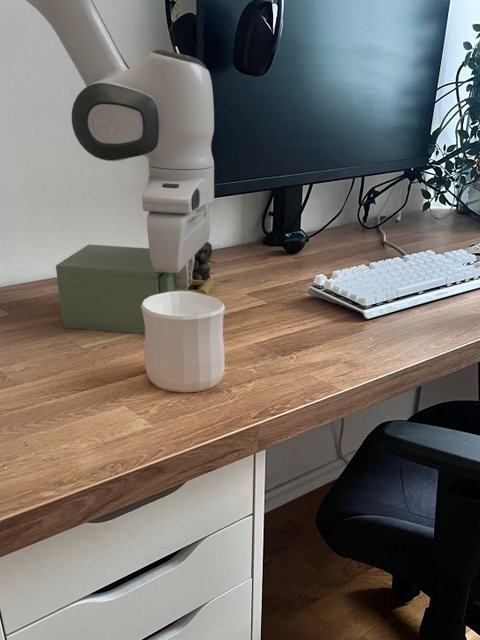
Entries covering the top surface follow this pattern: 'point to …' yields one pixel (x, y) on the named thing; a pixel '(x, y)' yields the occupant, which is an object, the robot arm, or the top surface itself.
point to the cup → (184, 341)
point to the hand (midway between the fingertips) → (184, 287)
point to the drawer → (169, 285)
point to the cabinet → (106, 288)
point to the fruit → (202, 264)
